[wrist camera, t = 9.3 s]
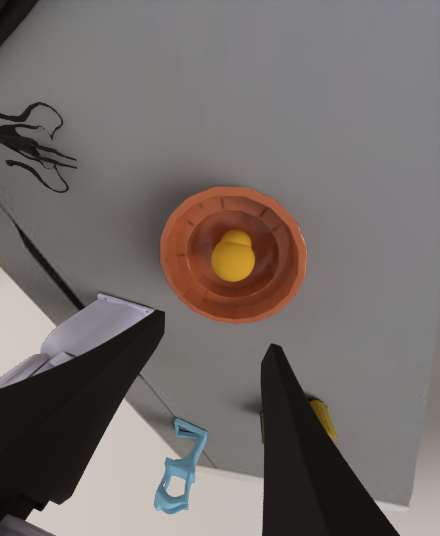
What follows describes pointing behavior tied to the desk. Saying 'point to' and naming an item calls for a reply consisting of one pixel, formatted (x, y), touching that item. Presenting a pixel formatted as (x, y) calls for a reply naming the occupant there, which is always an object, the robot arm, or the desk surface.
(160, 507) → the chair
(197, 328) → the desk surface
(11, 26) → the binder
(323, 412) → the medication box
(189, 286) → the bowl
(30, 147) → the creature
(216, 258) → the blob
